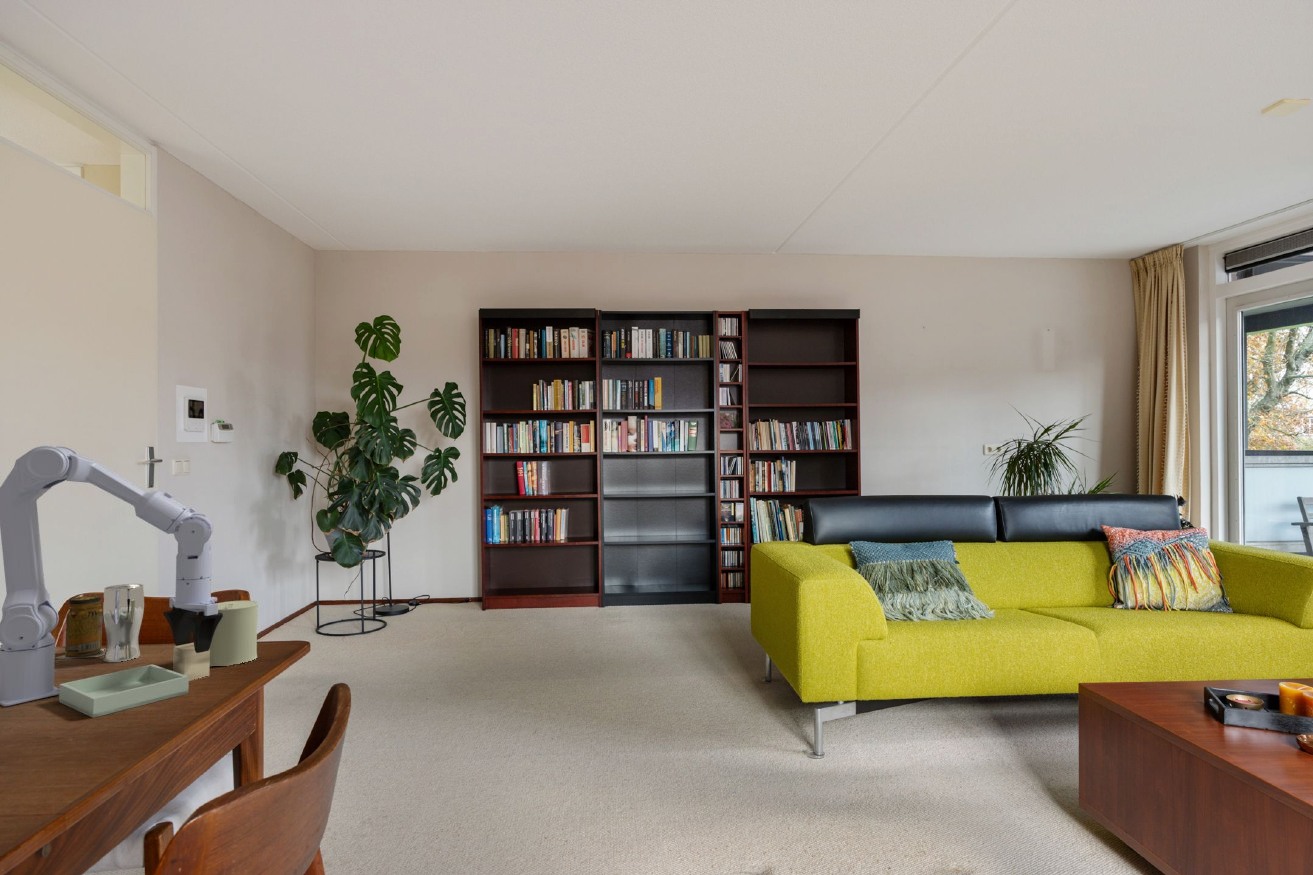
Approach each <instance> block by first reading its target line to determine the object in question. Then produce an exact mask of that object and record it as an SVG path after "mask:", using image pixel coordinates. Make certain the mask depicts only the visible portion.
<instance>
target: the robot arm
mask: <svg viewBox="0 0 1313 875" xmlns="http://www.w3.org/2000/svg"><path fill="white" fill-rule="evenodd" d="M65 481H66V482H73V483H74V482H75V483H78V482H79V483H89V484H91V485H93V486H95V487H97V488H100V489H101V490H103V491H104V492H106V493H108V494H110V495H112V496H114V497H116V498H118V499H120V500H122V501H123V502H126V503H127V504H129V505H131V506H133V507H134V511H135V516H136V517H137V518H139V519H141V520H142V521H145V522H146V523H147V524H150V525H151V526H153V527H155V528H156V529H159V530H160V531H162V532H164V533H165V534H167V535H168V534H171V535H172V534H173V535H174V536H173V537H174V539H175V540H176V542H177V554H176V556H175V557H176V558H175V559H176V560H175V596H172V597H169V608H170V609H171V610H166V611H164V612H163V616H164V617H165V619H166V621H167V623H168V624H169V626H170V630H171V633H172V638H173V640H174V644H175V645H174V646H180V645H185V644H190V643H191V640H192V638H193V643H194V648H195V652H196V653H201V652H205V651H209V649H210V645H211V642H212V638H213V635H214V632H215V630H216V627H217V625H218V624H219V622H220V620H221V619H222V617H223V613H218V604H217V602H218V597H217V596H212V561H213V560H212V558H213V555H212V554H213V553H212V552H211V550H212V543H211V539H210V538H211V537H212V535H213V532H214V526H213V523H212V521H211V520H210V519H209V518H208V517H207V516H206V515H205V514H203V513H196V512H197V509H196V508H194V507H190V508H189V507H187V506H185V505H184V504H182V503H181V502H178V501H177V500H176V499H174V498H173V497H174V495H173V494H171V493H170V492H168V491H165V492H162V491H160V490H154V491H149V492H147V491H145V490H144V489H143V488H141V487H139V486H137V485H136V484H135V483H133V482H131V481H129V480H128V479H126V478H124V477H123V476H121V475H120V474H118V473H116V472H115V471H114V470H112V469H110V468H109V467H108V466H105V465H104V464H102V463H101V462H99V461H97V460H95V459H93V458H90V457H88V456H87V455H84V454H80V453H77V452H76V451H75V450H73V449H72V448H69V447H66V446H52V445H40V446H37V447H35V448H32V449H30V450H28V452H27V451H26V453H24V454H23V455H21V456H20V457H18V458H17V459H15V461H14V465H13V467H12V469H11V471H10V472H9V473H8V475H7V476H6V478H5V479H4V481H3V482H2V484H1V486H0V540H1V550H2V560H3V567H4V568H3V570H4V572H3V573H4V581H5V582H4V583H5V590H6V594H5V595H6V596H5V598H4V601H3V603H2V604H3V605H2V608H1V612H2V616H1V620H0V705H1V706H3V707H7V706H8V707H9V706H14V705H17V704H21V703H26V702H30V701H35V700H39V699H44V698H48V697H49V698H50V697H52V696H59V688H58V687H56V686H55V662H56V657H55V655H56V653H55V652H56V638H55V637H54V635H52V633H51V632H53V630H54V629H55V628H56V627H57V626H58V623H59V619H60V618H59V612H58V610H57V609H56V608H55V607H54V605H53V604H52V602H51V596H50V593H49V591H48V589H47V588H46V585H45V578H44V575H45V574H44V565H43V553H42V544H41V533H40V524H39V516H38V514H39V513H38V504H37V503H38V502H37V501H38V500H39V499H40V498H41V497H42V496H43V495H44V494H46V493H47V492H48V491H49V490H50V489H52V487H54V486H56V485H59V484H61V483H63V482H65ZM215 602H216V603H215Z"/></svg>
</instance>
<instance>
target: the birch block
mask: <svg viewBox="0 0 1313 875" xmlns="http://www.w3.org/2000/svg"><path fill="white" fill-rule="evenodd" d="M172 655H173V658H172V663H173V664H172V665H173V666H172V671H174V672H177V673H180V674H183V675H186V676H189V682H191V681H195V680H199V679H202V677H204V678H206V677H205V676H208V677H210V667H211V666H210V649H209V651H205V652H201V653H196V652H195V648H194V642H190V644H185V645H180V646H176V645H174V646H173V654H172ZM198 678H199V679H198ZM194 679H195V680H194Z"/></svg>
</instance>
